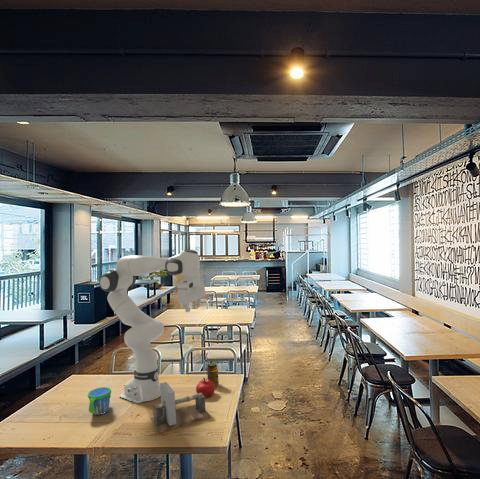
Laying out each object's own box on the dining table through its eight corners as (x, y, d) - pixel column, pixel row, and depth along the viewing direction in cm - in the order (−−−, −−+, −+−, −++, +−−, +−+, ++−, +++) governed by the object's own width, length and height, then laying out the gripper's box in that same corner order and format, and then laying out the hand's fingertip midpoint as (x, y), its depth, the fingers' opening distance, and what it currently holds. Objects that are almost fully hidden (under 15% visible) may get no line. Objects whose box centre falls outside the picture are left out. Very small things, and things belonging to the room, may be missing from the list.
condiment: (222, 385, 198) (220, 363, 198) (210, 390, 192) (209, 368, 192) (213, 381, 203) (212, 361, 203) (201, 386, 197) (200, 365, 197)
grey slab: (169, 425, 155) (167, 393, 155) (161, 413, 166) (159, 383, 166) (176, 423, 156) (174, 391, 156) (167, 411, 168) (166, 381, 168)
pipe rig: (158, 433, 152) (157, 412, 152) (150, 419, 164) (149, 399, 164) (210, 417, 163) (209, 397, 163) (199, 405, 176) (198, 387, 175)
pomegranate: (217, 397, 184) (216, 379, 183) (198, 400, 181) (197, 382, 180) (213, 389, 193) (212, 372, 193) (194, 392, 190) (194, 375, 190)
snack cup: (99, 421, 165) (98, 399, 165) (80, 419, 168) (79, 398, 168) (119, 405, 180) (118, 385, 180) (101, 403, 183) (100, 384, 183)
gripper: (197, 278, 187) (198, 304, 188) (174, 285, 169) (176, 314, 170) (207, 278, 185) (208, 305, 186) (185, 286, 166) (187, 315, 167)
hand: (193, 309), depth 177 cm, fingers open, 8 cm apart
